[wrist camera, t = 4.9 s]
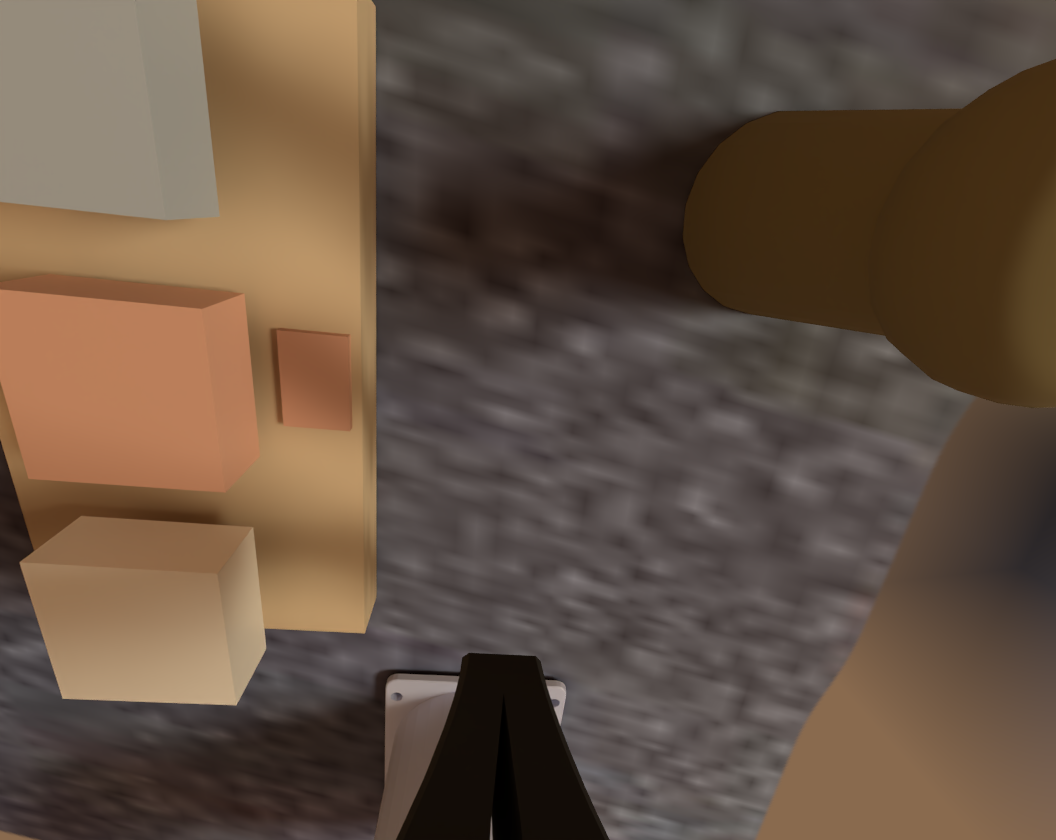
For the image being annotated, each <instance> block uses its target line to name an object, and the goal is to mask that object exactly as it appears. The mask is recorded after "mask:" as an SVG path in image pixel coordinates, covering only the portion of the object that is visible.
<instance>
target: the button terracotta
mask: <svg viewBox="0 0 1056 840" xmlns="http://www.w3.org/2000/svg"><path fill="white" fill-rule="evenodd" d="M0 382H1V386H2V389H3V392H4V396H5V399H6V403H7V406H8V410H9V413H10V417H11V420H12V423H13V427H14V430H15V434H16V437H17V441H18V444H19V448H20V451H21V455H22V458H23V461H24V465H25V468H26V472H27V475H28V479H37V480H51V481H66V482H80V483H94V484H109V485H123V486H137V487H152V488H166V489H180V490H195V491H209V492H223V493H226V492H227V491H228V490H229V488H230V487H231V486H232V485H233V484H234V483H235V482H236V481H237V480H238V479H239V478H240V477H241V476H242V475H243V474H244V473H245V472H246V470H247V469H248V468H249V467H250V466H251V465H252V464H253V463H254V462H255V461H256V460H257V459H258V458H259V457H260V450H259V440H258V429H257V419H256V409H255V398H254V388H253V377H252V367H251V356H250V346H249V336H248V325H247V315H246V304H245V294H244V293H235V292H225V291H215V290H205V289H195V288H185V287H175V286H165V285H155V284H145V283H135V282H125V281H115V280H105V279H95V278H85V277H75V276H65V275H55V274H47V275H41V276H34V277H28V278H22V279H16V280H10V281H4V282H0Z"/></svg>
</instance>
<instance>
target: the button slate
mask: <svg viewBox="0 0 1056 840" xmlns="http://www.w3.org/2000/svg"><path fill="white" fill-rule="evenodd" d="M0 202H6V203H15V204H24V205H33V206H42V207H51V208H61V209H70V210H79V211H88V212H97V213H106V214H115V215H124V216H134V217H143V218H152V219H161V220H176V219H191V218H207V217H220V215H219V205H218V196H217V187H216V178H215V168H214V159H213V150H212V140H211V131H210V122H209V113H208V103H207V94H206V85H205V76H204V66H203V57H202V48H201V38H200V29H199V20H198V11H197V1H196V0H0Z"/></svg>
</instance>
